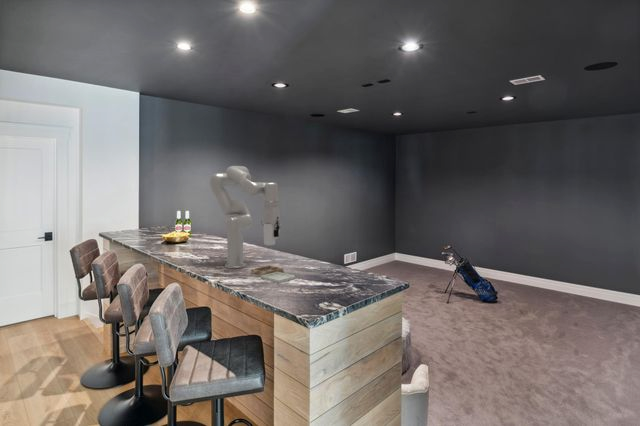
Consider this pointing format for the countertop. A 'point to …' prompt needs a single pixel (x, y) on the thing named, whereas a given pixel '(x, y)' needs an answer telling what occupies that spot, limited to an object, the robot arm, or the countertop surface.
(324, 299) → the countertop surface
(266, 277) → the tray
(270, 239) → the mug
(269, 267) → the holder frame
